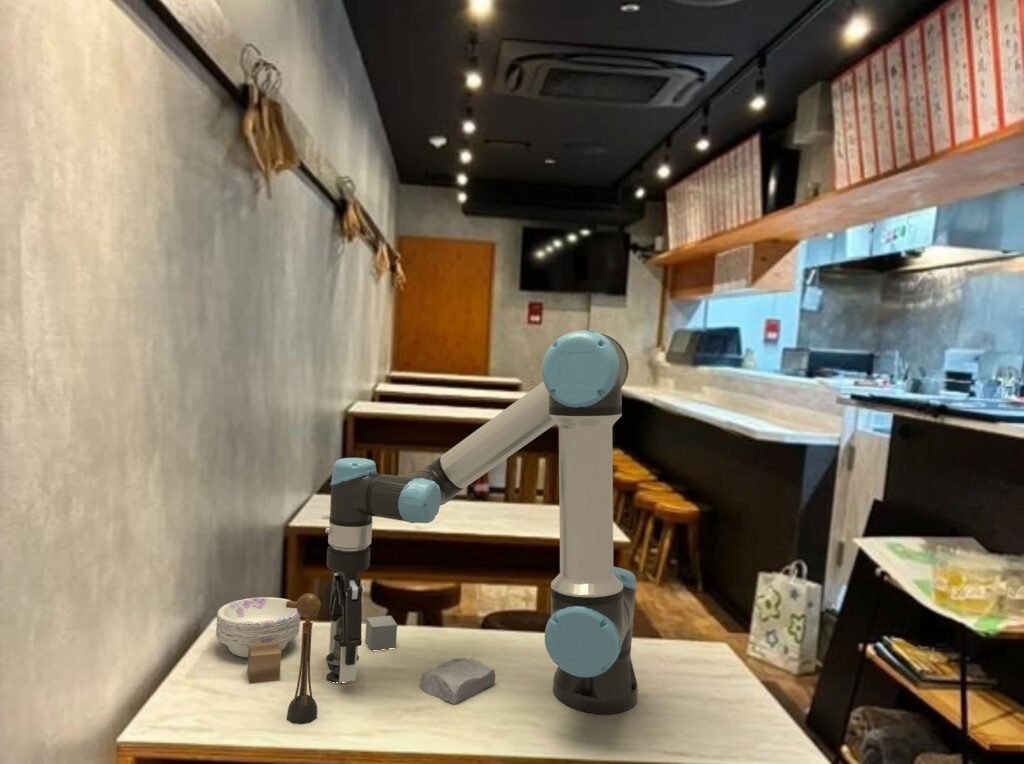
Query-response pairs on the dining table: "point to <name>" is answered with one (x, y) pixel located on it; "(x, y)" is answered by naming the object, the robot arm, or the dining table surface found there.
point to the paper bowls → (256, 623)
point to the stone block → (457, 679)
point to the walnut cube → (264, 662)
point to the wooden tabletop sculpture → (304, 662)
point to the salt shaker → (336, 654)
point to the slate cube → (381, 633)
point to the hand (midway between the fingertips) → (341, 668)
